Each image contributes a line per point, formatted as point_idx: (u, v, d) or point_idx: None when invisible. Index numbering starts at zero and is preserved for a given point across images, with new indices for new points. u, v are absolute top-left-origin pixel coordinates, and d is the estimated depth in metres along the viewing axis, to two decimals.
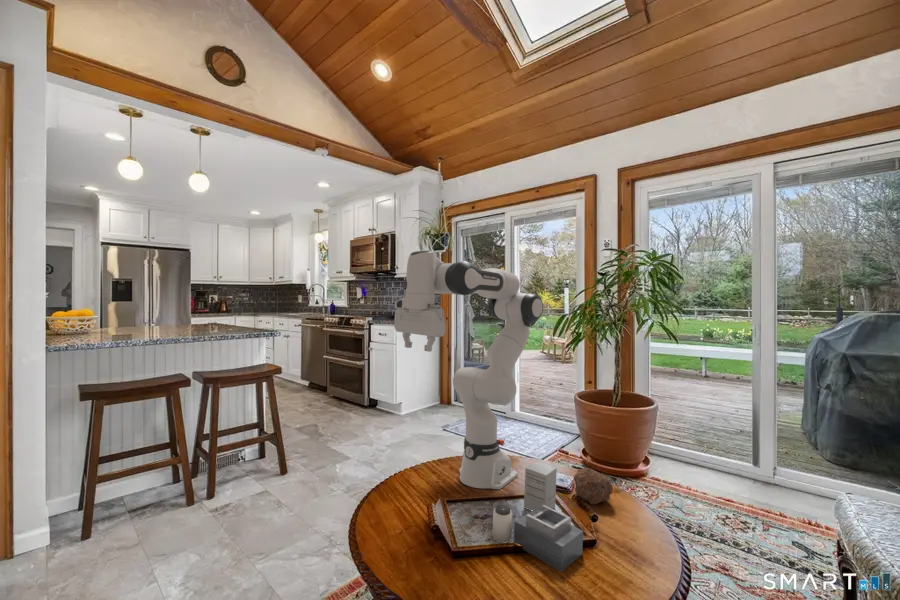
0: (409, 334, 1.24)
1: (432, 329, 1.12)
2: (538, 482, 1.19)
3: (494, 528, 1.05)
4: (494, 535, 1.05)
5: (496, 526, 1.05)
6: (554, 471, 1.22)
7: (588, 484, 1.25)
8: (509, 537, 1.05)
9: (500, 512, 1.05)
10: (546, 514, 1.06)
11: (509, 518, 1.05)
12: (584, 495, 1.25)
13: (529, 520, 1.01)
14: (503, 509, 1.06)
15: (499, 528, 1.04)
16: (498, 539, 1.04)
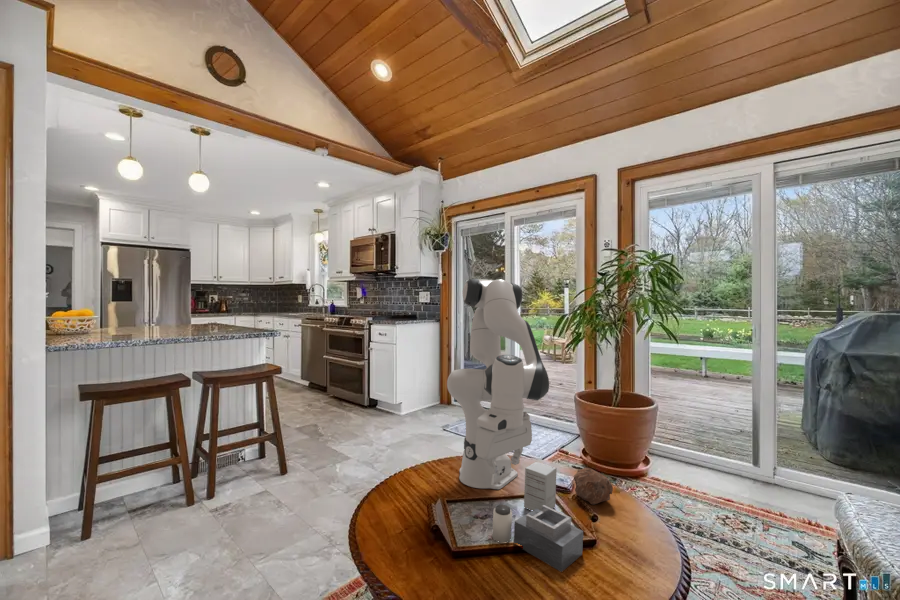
0: None
1: (529, 438, 1.11)
2: (538, 482, 1.19)
3: (494, 528, 1.05)
4: (494, 535, 1.05)
5: (496, 526, 1.05)
6: (554, 471, 1.22)
7: (588, 484, 1.25)
8: (509, 537, 1.05)
9: (500, 512, 1.05)
10: (546, 514, 1.06)
11: (509, 518, 1.05)
12: (584, 495, 1.25)
13: (529, 520, 1.01)
14: (503, 509, 1.06)
15: (499, 528, 1.04)
16: (498, 539, 1.04)
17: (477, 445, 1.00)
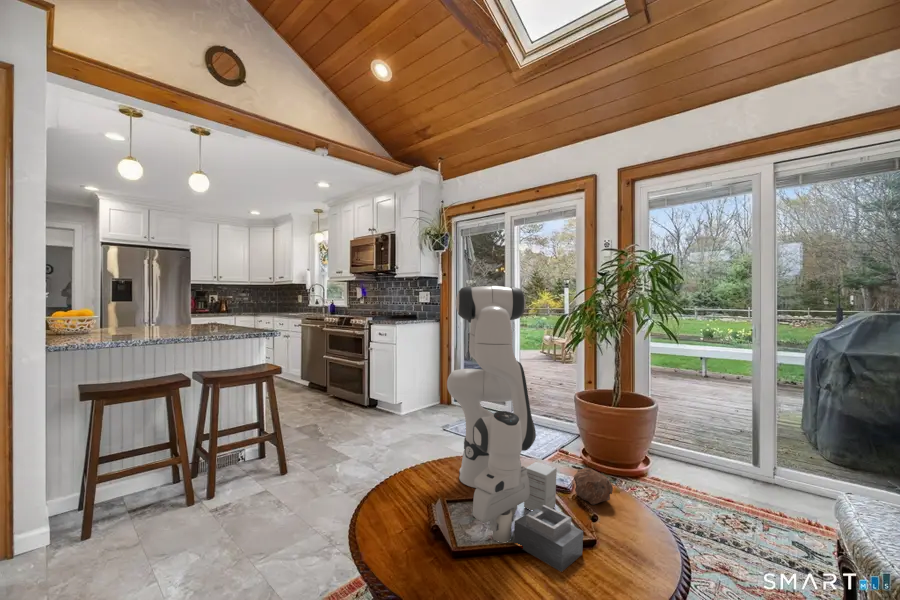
0: None
1: (526, 494, 1.11)
2: (538, 482, 1.19)
3: None
4: (494, 535, 1.05)
5: None
6: (554, 471, 1.22)
7: (588, 484, 1.25)
8: (509, 537, 1.05)
9: None
10: (546, 514, 1.06)
11: (509, 518, 1.05)
12: (584, 495, 1.25)
13: (529, 520, 1.01)
14: None
15: (499, 528, 1.04)
16: (498, 539, 1.04)
17: (474, 506, 1.00)
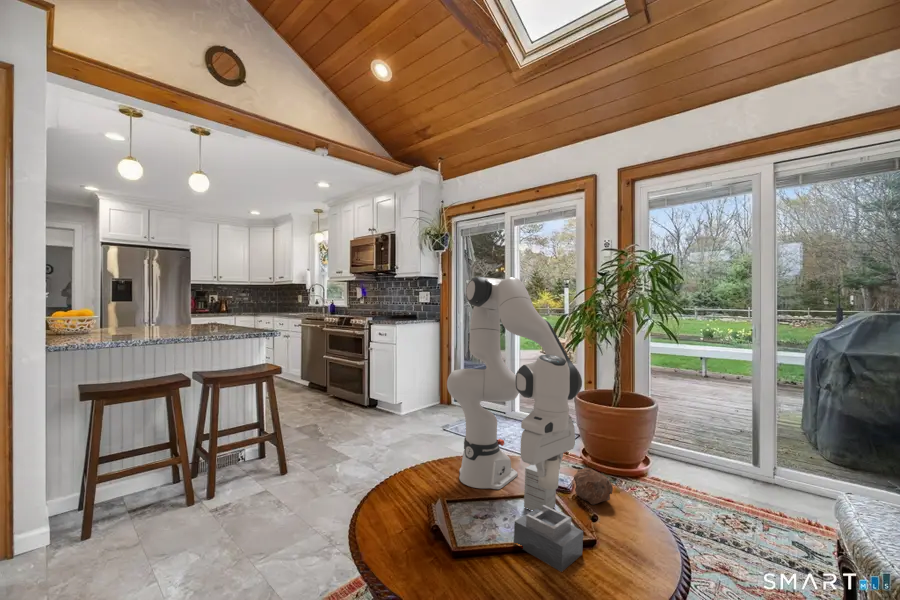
0: None
1: (572, 442, 1.06)
2: None
3: None
4: (541, 482, 1.01)
5: None
6: None
7: (588, 484, 1.25)
8: (556, 484, 1.00)
9: None
10: (546, 514, 1.06)
11: (557, 464, 1.00)
12: (584, 495, 1.25)
13: (529, 520, 1.01)
14: None
15: (546, 474, 1.00)
16: (545, 486, 1.00)
17: (522, 449, 0.96)
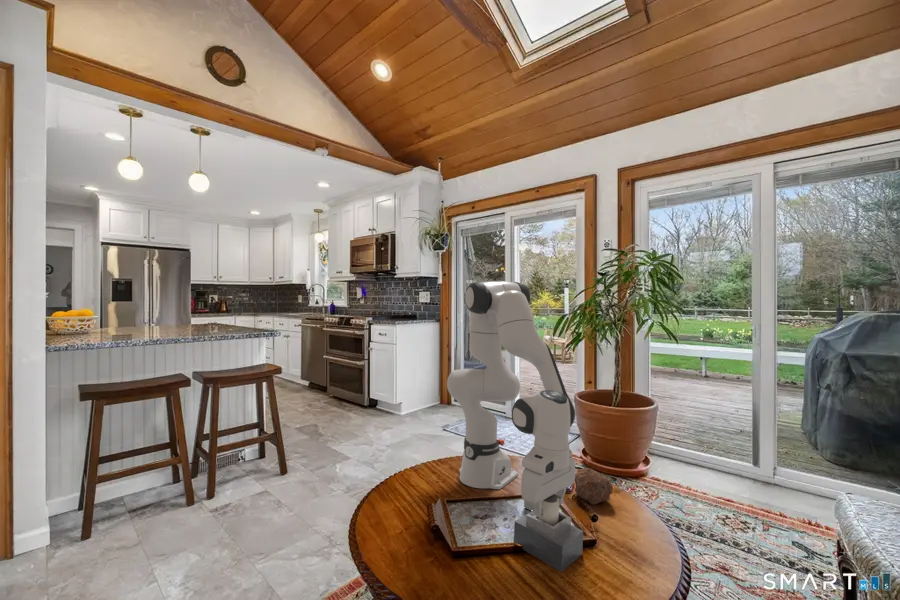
0: None
1: (572, 476, 1.06)
2: None
3: None
4: None
5: (543, 514, 1.00)
6: None
7: (588, 484, 1.25)
8: None
9: (547, 499, 1.00)
10: None
11: (557, 506, 1.00)
12: (584, 495, 1.25)
13: (529, 520, 1.01)
14: (550, 496, 1.01)
15: (546, 516, 1.00)
16: None
17: (523, 488, 0.96)
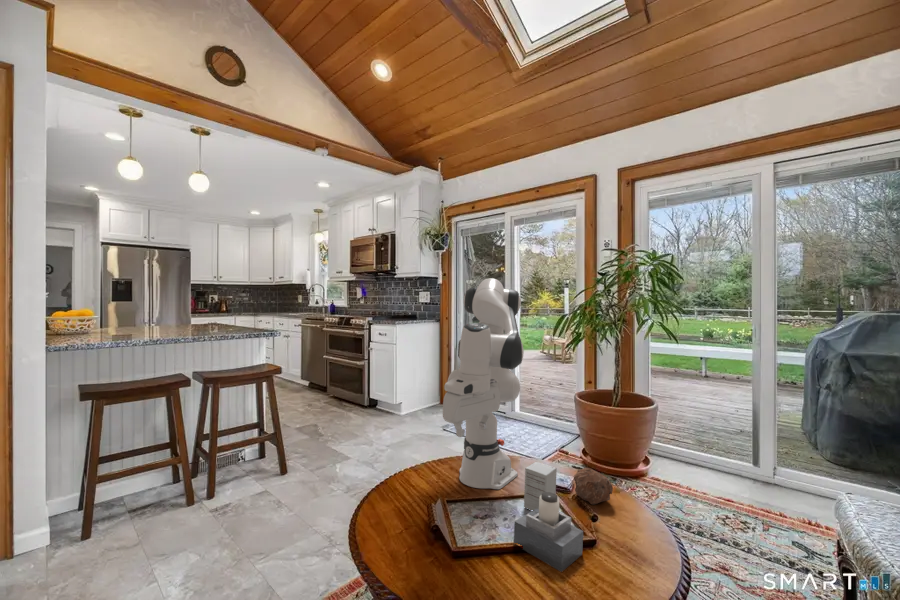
0: None
1: (496, 404, 1.14)
2: (538, 482, 1.19)
3: (540, 516, 1.01)
4: None
5: (543, 514, 1.00)
6: (554, 471, 1.22)
7: (588, 484, 1.25)
8: None
9: (547, 499, 1.00)
10: None
11: (557, 506, 1.00)
12: (584, 495, 1.25)
13: (529, 520, 1.01)
14: (550, 496, 1.01)
15: (546, 516, 1.00)
16: None
17: (444, 409, 1.03)
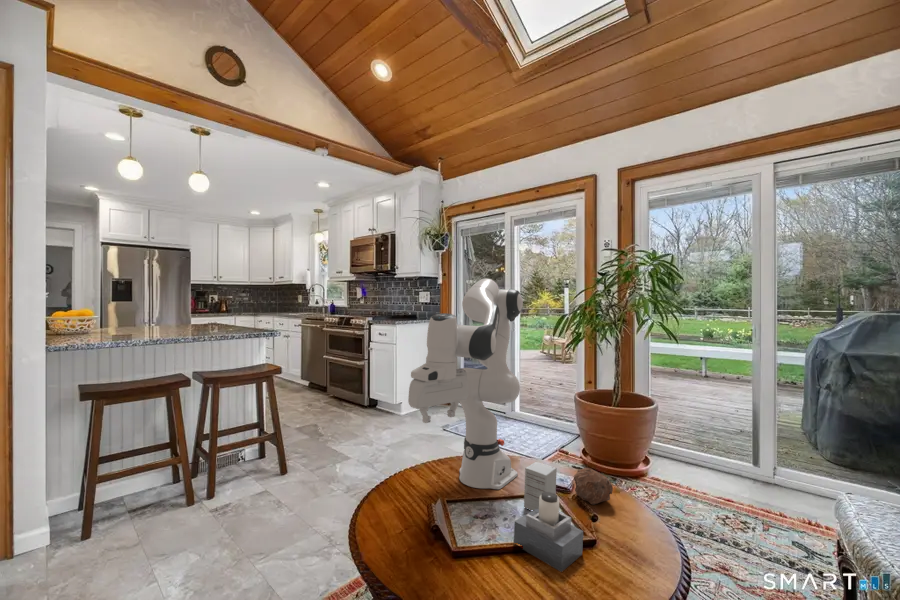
0: None
1: (465, 393, 1.17)
2: (538, 482, 1.19)
3: (540, 516, 1.01)
4: None
5: (543, 514, 1.00)
6: (554, 471, 1.22)
7: (588, 484, 1.25)
8: None
9: (547, 499, 1.00)
10: None
11: (557, 506, 1.00)
12: (584, 495, 1.25)
13: (529, 520, 1.01)
14: (550, 496, 1.01)
15: (546, 516, 1.00)
16: None
17: (409, 395, 1.07)
